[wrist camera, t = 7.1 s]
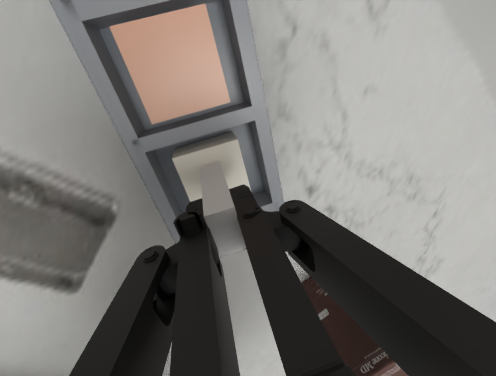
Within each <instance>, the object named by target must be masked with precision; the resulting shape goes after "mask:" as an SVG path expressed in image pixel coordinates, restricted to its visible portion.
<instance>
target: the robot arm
mask: <svg viewBox="0 0 496 376" xmlns="http://www.w3.org/2000/svg"><path fill="white" fill-rule="evenodd" d="M200 177H201V189H202V198H201V199H198V200H195V201H191V202H189V204H188V205H187V207H186V212H184V213H182V214H181V215H179V216H178V217H177V218H176V219H175V220H174V222H173V224H174V226H175V228H176V230H177V232H178V234H179V236H180V241H179V242H178V243H176V244H175V245H173V246H171V247H170V248H168V249H166V250H165V248H164V247H163V246H153V247H150V248H148V249H146V250H145V251H144V252H142V253H141V254H140V255H139V257H138V258H137V259H136V261H135V263H134V264H133V266H132V268H131V270H130V271H129V273H128V275H127V277H126V278H125V280H124V282H123V283H122V285H121V287H120V289H119V290H118V292H117V294H116V296H115V297H114V299H113V301H112V302H111V304H110V306H109V308H108V309H107V311H106V313H105V315H104V316H103V318H102V320H101V321H100V323H99V325H98V327H97V328H96V330H95V332H94V334H93V335H92V337H91V339H90V340H89V342H88V344H87V346H86V347H85V349H84V351H83V353H82V354H81V356H80V358H79V359H78V361H77V363H76V365H75V366H74V368H73V370H72V372H71V373H70V375H69V376H162V374H163V370H164V367H165V363H166V360H167V356H168V353H169V349H170V346H171V342H172V351H171V365H170V376H240V373H239V367H238V361H237V354H236V348H235V342H234V336H233V330H232V324H231V317H230V311H229V305H228V299H227V293H226V287H225V280H224V274H223V268H222V264H221V262H220V259H219V255H220V258H222V257H225V256H228V255H231V254H234V253H236V252H239V251H242V250H245V249H247V251H248V255H249V258H250V261H251V264H252V267H253V271H254V274H255V277H256V280H257V283H258V287H259V290H260V293H261V296H262V299H263V303H264V306H265V309H266V312H267V315H268V319H269V322H270V325H271V328H272V331H273V335H274V338H275V341H276V344H277V347H278V351H279V354H280V357H281V360H282V363H283V367H284V370H285V373H286V376H356V375H355V373H354V372H353V371H352V369H351V368H350V367H349V366H348V365H347V364H346V363H344V362H343V360H342V359H341V357H340V356H339V354H338V352H337V350H336V348H335V346H334V344H333V343H332V341H331V339H330V337H329V335H328V333H327V331H326V329H325V327H324V325H323V323H322V322H321V320H320V318H319V316H318V314H317V312H316V310H315V308H314V306H313V304H312V303H311V301H310V299H309V297H308V295H307V293H306V291H305V289H304V287H303V285H302V283H301V282H300V280H299V278H298V276H297V274H296V272H295V270H294V268H293V266H292V264H291V263H290V261H289V259H288V257H287V255H286V253H285V252H286V251H287V252H288V253H289V255H290V256H291V257H292V258H293V259H294V260H295V261H296V262H297V263H298V264H299V265H300V266H301V267H302V268H303V269H304V270H305V271H306V272H307V273H308V274H309V275H310V276H311V277H312V278H313V279H314V280H315V281H316V282H317V283H318V284H319V285H320V286H321V287H322V288H323V289H324V291H325V292H326V293H327V294H328V295H329V296H330V297H331V298H332V299H333V300H334V301H335V302H336V303H337V304H338V305H339V306H340V307H341V308H342V309H343V310H344V311H345V312H346V313H347V314H348V315H349V316H350V317H351V318H352V319H353V320H354V321H355V322H356V323H357V324H358V325H359V326H360V327H361V328H362V329H363V330H364V331H365V332H366V333H367V334H368V335H369V336H370V337H371V338H372V339H373V340H374V341H375V342H376V343H377V344H378V345H379V346H380V347H381V348H382V349H383V350H384V351H385V352H386V353H387V354H388V356H389V357H390V358H391V359H392V360H393V361H394V362H395V363H396V364H397V365H398V366H399V367H400V368H401V369H402V370H403V371H404V372H405V373H406V374H407V375H408V376H496V322H494V321H493V320H491V319H490V318H488V317H486V316H485V315H483V314H482V313H480V312H478V311H477V310H475V309H474V308H472V307H470V306H469V305H467V304H466V303H464V302H462V301H461V300H459V299H458V298H456V297H454V296H453V295H451V294H450V293H448V292H446V291H445V290H443V289H442V288H440V287H439V286H437V285H435V284H434V283H432V282H431V281H429V280H427V279H426V278H424V277H423V276H421V275H419V274H418V273H416V272H415V271H413V270H411V269H410V268H408V267H407V266H405V265H403V264H402V263H400V262H399V261H397V260H395V259H394V258H392V257H391V256H389V255H387V254H386V253H384V252H383V251H381V250H379V249H378V248H376V247H375V246H373V245H371V244H370V243H368V242H367V241H365V240H364V239H362V238H360V237H359V236H357V235H356V234H354V233H352V232H351V231H349V230H348V229H346V228H344V227H343V226H341V225H340V224H338V223H336V222H335V221H333V220H332V219H330V218H328V217H327V216H325V215H324V214H322V213H320V212H319V211H317V210H316V209H314V208H312V207H311V206H309V205H308V204H306V203H304V202H302V201H299V200H292V201H287V202H285V203H283V204H282V205H281V206H280V208H279V211H274V212H268V211H264V210H263V209H262V208H261V207H259V206H258V204H257V202H256V200H255V198H254V196H253V194H252V192H251V190H250V188H249V187H248V186H246V185H244V184H243V185H240V186H237V187H234V188H231V189H229V188H228V185H227V182H226V179H225V176H224V173H223V170H222V167H221V164H220V161H219V162H215V163H212V164H209V165H206V166H202V167H200ZM218 253H219V254H218Z"/></svg>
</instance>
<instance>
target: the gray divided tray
mask: <svg viewBox="0 0 496 376" xmlns="http://www.w3.org/2000/svg"><path fill="white" fill-rule="evenodd" d="M49 1H50V3H51V5H52V7H53V9H54V11H55V13H56V15H57V17H58V19H59V21H60V23H61V24H62V26H63V28H64V30H65V32H66V34H67V36H68V38H69V40H70V42H71V44H72V46H73V47H74V49H75V51H76V53H77V55H78V57H79V59H80V61H81V63H82V65H83V67H84V69H85V71H86V72H87V74H88V76H89V78H90V80H91V82H92V84H93V86H94V88H95V90H96V92H97V94H98V96H99V97H100V99H101V101H102V103H103V105H104V107H105V109H106V111H107V113H108V115H109V117H110V119H111V121H112V122H113V124H114V126H115V128H116V130H117V132H118V134H119V136H120V138H121V140H122V142H123V144H124V145H125V147H126V149H127V151H128V153H129V155H130V157H131V159H132V161H133V163H134V165H135V167H136V169H137V170H138V172H139V174H140V176H141V178H142V180H143V182H144V184H145V186H146V188H147V190H148V192H149V194H150V195H151V197H152V199H153V201H154V203H155V205H156V207H157V209H158V211H159V213H160V215H161V217H162V219H163V220H164V222H165V224H166V226H167V228H168V230H169V232H170V234H171V236H172V238H173V240H174V242H175V243H178V242H179V241H180V236H179V234H178V232H177V230H176V228H175V226H174V224H173V222H174V220H175V219H176V218H177V217H178V216H179V215H181V214H182V213H184V212H186V207H187V205H188V204H189V202H190V200H189V198H188V195H187V193H186V191H185V188H184V186H183V184H182V181H181V179H180V176H179V174H178V172H177V169H176V167H175V165H174V162H173V160H172V157H173V153H174V149H175V148H179V147H182V146H185V145H189V144H192V143H196V142H199V141H202V140H206V139H209V138H213V137H216V136H220V135H223V134H226V133H230V132H233V133H234V135H235V136H236V138H237V139H238V142H239V146H240V150H241V154H242V158H243V162H244V165H245V169H246V173H247V177H248V181H249V185H250V188H251V192H252V194H253V196H254V198H255V200H256V202H257V204H258V206H259V207H261V208H262V209H263V210H264V211H268V212H274V211H279V208H280V206H281V205H282V204H283V203H284V200H283V194H282V189H281V183H280V178H279V173H278V167H277V162H276V156H275V151H274V145H273V140H272V134H271V129H270V124H269V118H268V113H267V107H266V102H265V96H264V91H263V86H262V80H261V75H260V69H259V64H258V58H257V53H256V47H255V42H254V37H253V31H252V26H251V20H250V15H249V9H248V4H247V0H49ZM201 4H206V8H207V12H208V16H209V19H210V23H211V27H212V31H213V35H214V39H215V43H216V47H217V51H218V55H219V59H220V63H221V66H222V70H223V74H224V78H225V82H226V86H227V90H228V94H229V98H230V103H226V104H223V105H219V106H216V107H212V108H209V109H205V110H202V111H198V112H194V113H191V114H187V115H184V116H180V117H177V118H173V119H170V120H166V121H162V122H159V123H155V124H152V123H151V121H150V119H149V116H148V114H147V112H146V109H145V107H144V105H143V103H142V100H141V98H140V96H139V93H138V91H137V89H136V87H135V84H134V82H133V80H132V77H131V75H130V73H129V71H128V68H127V66H126V64H125V61H124V59H123V57H122V55H121V52H120V50H119V48H118V45H117V43H116V41H115V39H114V36H113V34H112V32H111V29H110V27H109V26H113V25H117V24H121V23H126V22H130V21H134V20H138V19H142V18H146V17H151V16H155V15H159V14H163V13H167V12H171V11H176V10H180V9H184V8H188V7H192V6H196V5H201Z"/></svg>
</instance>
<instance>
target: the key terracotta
mask: <svg viewBox="0 0 496 376" xmlns="http://www.w3.org/2000/svg"><path fill="white" fill-rule="evenodd" d="M109 27H110V29H111V32H112V34H113V36H114V39H115V41H116V43H117V45H118V48H119V50H120V52H121V55H122V57H123V59H124V61H125V64H126V66H127V68H128V71H129V73H130V75H131V77H132V80H133V82H134V84H135V87H136V89H137V91H138V93H139V96H140V98H141V100H142V103H143V105H144V107H145V109H146V112H147V114H148V116H149V119H150V121H151V123H152V124H155V123H159V122H162V121H166V120H170V119H173V118H177V117H180V116H184V115H187V114H191V113H194V112H198V111H202V110H205V109H209V108H212V107H216V106H219V105H223V104H226V103H230V98H229V94H228V90H227V86H226V82H225V78H224V74H223V70H222V66H221V63H220V59H219V55H218V51H217V47H216V43H215V39H214V35H213V31H212V27H211V23H210V19H209V16H208V12H207V8H206V4H201V5H196V6H192V7H188V8H184V9H180V10H176V11H171V12H167V13H163V14H159V15H155V16H151V17H146V18H142V19H138V20H134V21H130V22H126V23H121V24H117V25H113V26H109Z"/></svg>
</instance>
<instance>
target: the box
mask: <svg viewBox="0 0 496 376" xmlns="http://www.w3.org/2000/svg"><path fill="white" fill-rule="evenodd" d="M302 285H303V287H304V289H305V291H306V293H307V295H308V297H309V299H310V301H311V303H312V304H313V306H314V308H315V310H316V312H317V314H318V316H319V318H320V320H321V322H322V323H323V325H324V327H325V329H326V331H327V333H328V335H329V337H330V339H331V341H332V343H333V344H334V346H335V348H336V350H337V352H338V354H339V356H340V357H341V359H342V360H343V362H344V363H346V364H347V365H348V366H349V367H350V368H351V369H352V371H353V372H354V373H355V375H356V376H408V375H407V374H406V373H405V372H404V371H403V370H402V369H401V368H400V367H399V366H398V365H397V364H396V363H395V362H394V361H393V360H392V359H391V358H390V357H389V356H388V354H387V353H386V352H385V351H384V350H383V349H382V348H381V347H380V346H379V345H378V344H377V343H376V342H375V341H374V340H373V339H372V338H371V337H370V336H369V335H368V334H367V333H366V332H365V331H364V330H363V329H362V328H361V327H360V326H359V325H358V324H357V323H356V322H355V321H354V320H353V319H352V318H351V317H350V316H349V315H348V314H347V313H346V312H345V311H344V310H343V309H342V308H341V307H340V306H339V305H338V304H337V303H336V302H335V301H334V300H333V299H332V298H331V297H330V296H329V295H328V294H327V293H326V292H325V291H324V289H323V288H322V287H321V286H320V285H319V284H318V283H317V282H316V281H315V280H314V279H313V278H312V277H311V278H309V279H308V280H307V281H305V282H303V283H302Z"/></svg>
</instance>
